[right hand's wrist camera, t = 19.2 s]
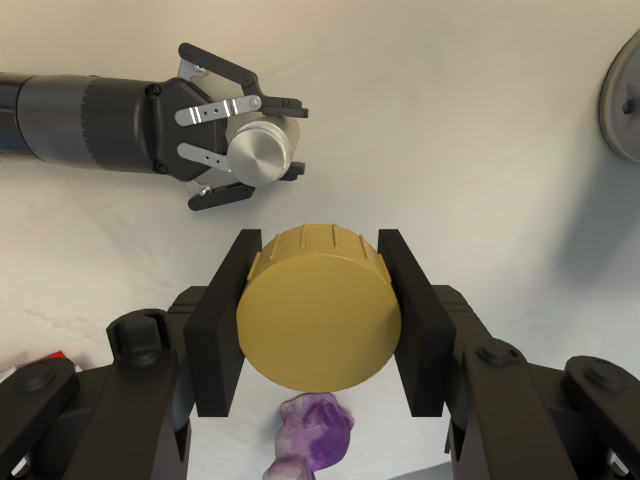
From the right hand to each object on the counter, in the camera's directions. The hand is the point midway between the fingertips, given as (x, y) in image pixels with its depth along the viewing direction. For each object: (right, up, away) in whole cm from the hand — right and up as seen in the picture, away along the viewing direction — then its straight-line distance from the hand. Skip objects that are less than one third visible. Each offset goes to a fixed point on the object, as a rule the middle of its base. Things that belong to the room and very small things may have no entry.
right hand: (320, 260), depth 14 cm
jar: (-4, +12, +22) cm, 26 cm away
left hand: (-1, +9, +16) cm, 19 cm away
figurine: (-1, -25, +37) cm, 45 cm away
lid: (0, -2, -4) cm, 4 cm away
